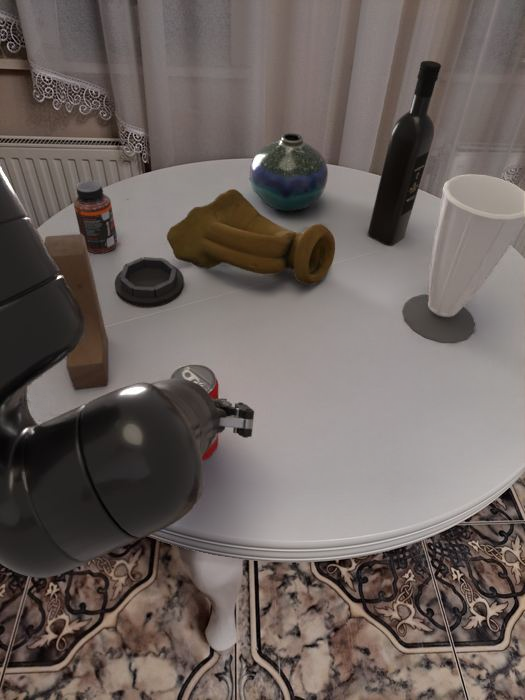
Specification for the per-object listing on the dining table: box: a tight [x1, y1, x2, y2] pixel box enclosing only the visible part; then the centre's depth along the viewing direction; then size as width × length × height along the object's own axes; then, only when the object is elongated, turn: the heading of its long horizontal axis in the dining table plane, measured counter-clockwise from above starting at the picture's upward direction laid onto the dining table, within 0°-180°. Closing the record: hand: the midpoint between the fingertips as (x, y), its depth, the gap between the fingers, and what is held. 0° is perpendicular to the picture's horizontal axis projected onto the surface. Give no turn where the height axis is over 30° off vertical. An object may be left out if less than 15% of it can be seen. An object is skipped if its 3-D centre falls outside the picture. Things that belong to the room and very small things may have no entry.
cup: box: [402, 173, 525, 344], centre depth 74 cm, size 12×12×22 cm
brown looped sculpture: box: [166, 188, 336, 285], centre depth 84 cm, size 18×13×22 cm
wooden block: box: [44, 233, 109, 390], centre depth 64 cm, size 9×4×18 cm, turn 13°
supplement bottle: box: [73, 179, 118, 254], centre depth 86 cm, size 6×6×11 cm
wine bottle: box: [367, 60, 442, 246], centre depth 87 cm, size 6×6×30 cm
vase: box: [249, 132, 329, 212], centre depth 100 cm, size 15×15×13 cm
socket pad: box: [114, 256, 185, 308], centre depth 82 cm, size 11×11×2 cm
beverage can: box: [169, 363, 219, 462], centre depth 57 cm, size 5×5×12 cm
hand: (197, 404), depth 58 cm, fingers closed on beverage can, 5 cm apart
